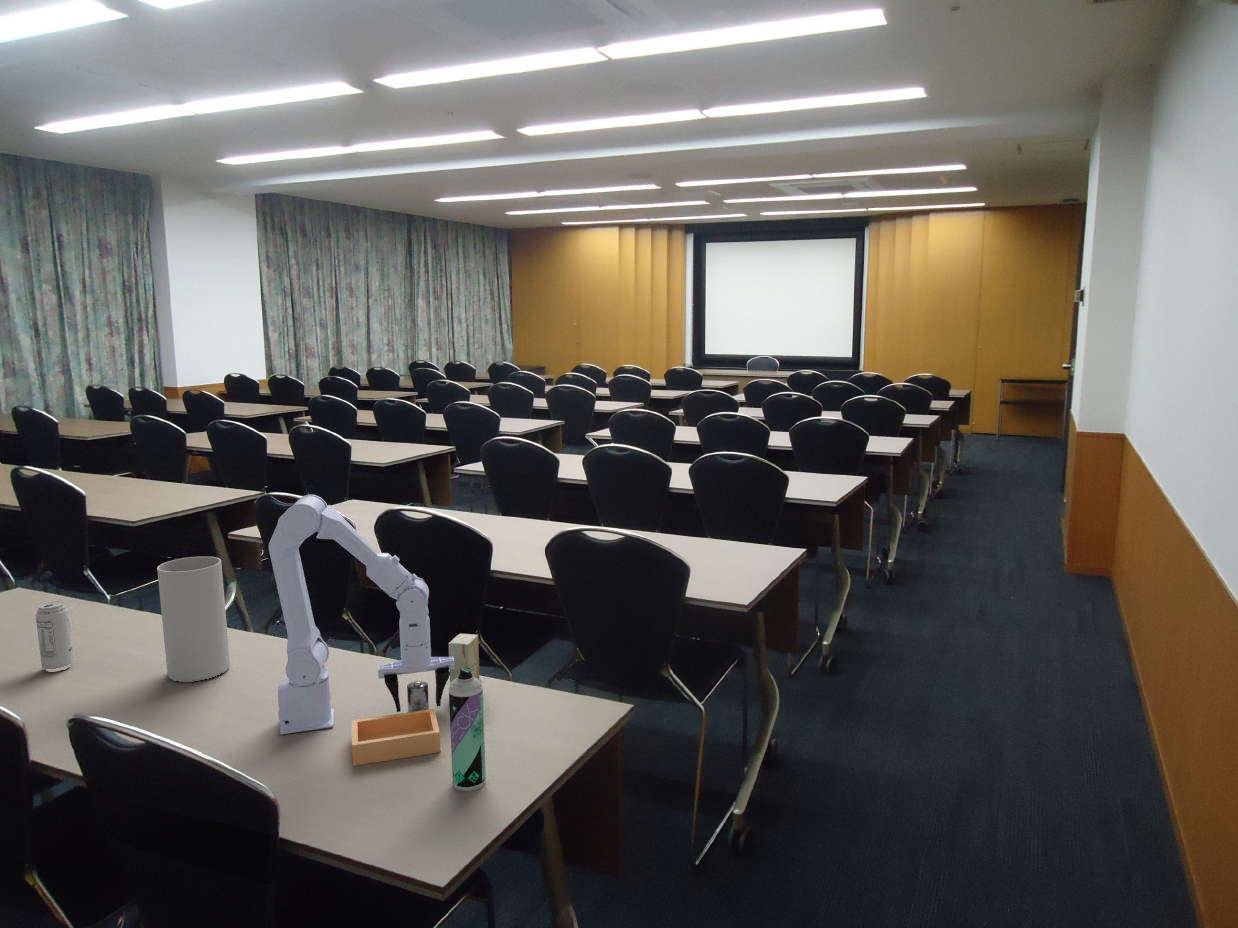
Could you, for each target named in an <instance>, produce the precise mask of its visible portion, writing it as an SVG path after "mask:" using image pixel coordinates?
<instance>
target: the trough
mask: <svg viewBox="0 0 1238 928" xmlns="http://www.w3.org/2000/svg"><path fill="white" fill-rule="evenodd" d="M437 719H438V718H437V715H436V711H435V708H431V709H430V708H429V710H422V711H415V712H408V711H407V712H402V713H400V712H399V713H394V714H387V715H381V716H373V717H367V718H366V717H365V718H358V719H353V720H351V751H352V752H351V754H352V766H353V767H354V766H360V765H366V764H373V763H379V762H380V763H381V762H386V761H393V760H397V759H398V760H399V759H405V758H411V757H418V756H424V755H431V754H436V753H442V752H441V735H440V734H441V731H440V728H439V724H438V723H439V722H438V720H437Z"/></svg>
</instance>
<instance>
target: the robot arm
mask: <svg viewBox="0 0 1238 928" xmlns="http://www.w3.org/2000/svg"><path fill="white" fill-rule="evenodd" d="M277 520H278V521H277V525H276V526H275V529H274V531H273V532H272V533H273V534H272V535H271V538H270V541H269V543H268V553H269V557H270V560H271V565H272V570H273V575H274V579H275V583H276V584H275V585H276V588H277V593H278V597H279V602H280V606H281V610H282V615H283V620H284V624H285V628H286V633H287V641H286V643H287V645H286V655H287V662H286V666H285V673H286V675H285V676H286V677H287V679H286V680H283V681H282V680H281V681H279V682H278V684H277V686H278V687H277V703H278V706H277V707H278V711H277V712H278V714H277V715H278V721H279V729H280V731H279V734H280V735H288V734H295V733H300V732H308V731H314V730H321V729H328V728H334V720H335V719H334V718H335V708H334V707H332V704H331V687H330V674H329V671H328V669H327V667H326V666H325V663H326V662H327V660H328V659H329V655H330V650H329V647H328V644H327V642H325V641H324V640H323V638H322V636H321V632H320V630H319V628H318V627H317V626H316V624H315V619H314V614H313V610H312V605H311V600H310V595H309V591H308V585H307V583H306V577H305V573H304V569H303V564H302V559H301V555H300V546H301V545H302V544H303V542H304V541H305V540H306V539H307V538H310V536H311V537H312V535H314V534H315V533H316V532H317V535H316V537H315V538H316V539H320V540H334V541H335V542H336V543H338V544H339V545H340V546H341V547H342V548H343V549H345V550H346V551H347V552H349V553H350V554H351V555H352V556H354V557H355V558H356V559H357V560H359V561H360V562H361V563H362V564H364V565H365V567H366V576H367V577H368V578H369V579H370V580H371V581H372V582H374V583H375V584H376V585H377V586H378V587H379V588H380V589H381V590H383V592H384V593H386V595H388V596H389V597H390V598H393V599H394V600H396V602H395V605H396V609H397V610H398V611H399V616H400V617H399V619H398V621H399V641H400V644H399V645H400V646H399V647H400V660H398V661H397V660H396V661H394V662H391V663H386V664H381V665H377V676H378V679H380V680H381V679H384V685H385V686H386V688H387V690H388V691H389V692H390V694H391V696H392V699H393V702H394V704H395V707H396V708H395V709H396V713H400V712H401V703H400V695H399V691H400V690H399V689H400V688H399V681H398V680H399V676H400V675H408V674H417V673H424V672H431V671H434V675H435V676H434V677H435V678H434V679H435V705H436V707H441V703H442V696H443V693H444V689H445V687H446V685H447V682H448V680H450V671H449V670H451V669H455V666H454V658H453V657H449V656H432V654H431V653H432V648H431V628H430V627H431V626H430V617H429V614H430V613H429V608H428V604H429V596H430V589H429V587H428V585H427V583H426V582H425V579H423V578H421V577H418V575H416V574H415V573H411V572H410V571H408V570H407V569H406V568H405V567H404V566H403V565H402V564H401V563H400V557H398V556H397V555H396V554H394V555H393V556H392V555H391V554H390V553H389V552H378V551H377V550H376V549H375V548H374V547H373V546H372V545H371V544H370V543H369V542H368V541H367V540H366V539H365V538H364V537H363V536H362V535H361V534H360V533H359V532H358V531H357V530H356V529H355V528H354V527H353V526H352V525H351V524H350V523H349V522H348V521H347V520H346V519H345V518H344V516H342V515H341V514H340V512H339V511H338V510H337V509H336V508H334V507H333V506H331V504H327V502H326V501H325V500H324V499H323V498H322V497H320V496H319V495H315V494H306V495H303V496H302V497H299V498H298V499H297V501H295V503H293V505H291V506H290V507H288V508H287V509H286V511H284V512H283V514H282V515H281V516H280V517H279V518H278V519H277Z"/></svg>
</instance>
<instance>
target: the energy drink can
mask: <svg viewBox="0 0 1238 928" xmlns="http://www.w3.org/2000/svg"><path fill="white" fill-rule="evenodd" d="M35 621H36V623H35V624H36V629H37V630H36V631H37V638H38V645H39V655H40V664H41V668H42V669H43V668H44V669H43V670H45V669H56V668H61V667H64V666H67V665H69V664H71V663H72V662H73V663H74V662H75V659H74V654H73V653H74V651H73V650H74V649H73V643H72V634H71V626H70V617H69V609H68V608H67V607H66V605H65V603H64V601H50V602H44V603H42V604H39V605H38V606H37V611H36V613H35ZM73 663H72V664H73ZM72 664H71V665H72Z"/></svg>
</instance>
